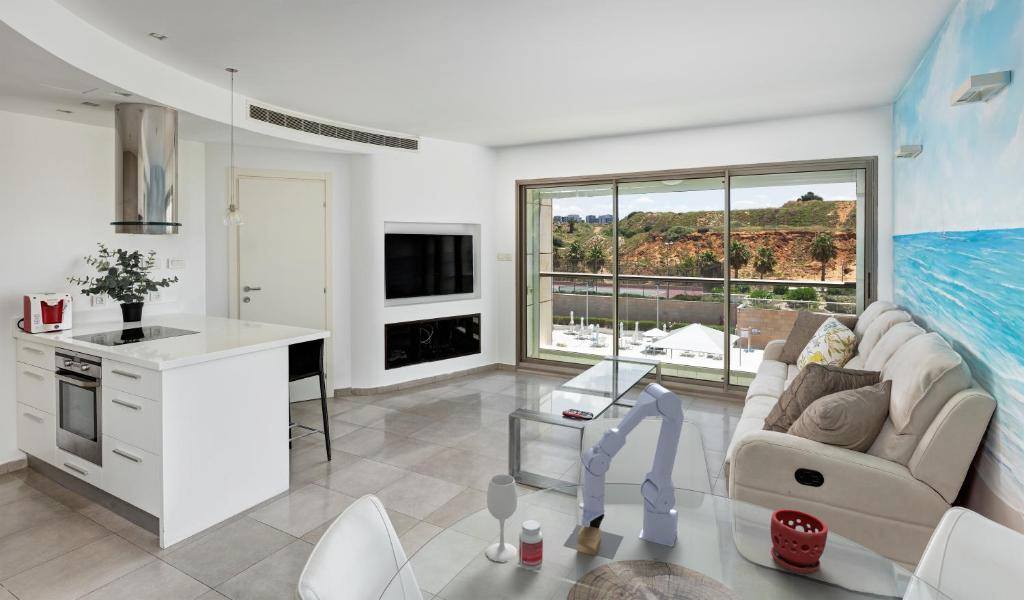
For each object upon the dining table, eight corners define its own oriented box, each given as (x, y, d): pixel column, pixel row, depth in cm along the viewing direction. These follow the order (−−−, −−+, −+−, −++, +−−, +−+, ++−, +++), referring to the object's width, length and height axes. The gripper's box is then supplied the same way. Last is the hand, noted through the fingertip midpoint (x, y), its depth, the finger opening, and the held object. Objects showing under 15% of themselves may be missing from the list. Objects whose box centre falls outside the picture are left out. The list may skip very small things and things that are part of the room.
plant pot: (822, 584, 135) (827, 539, 133) (765, 566, 142) (768, 523, 140) (825, 558, 146) (828, 516, 144) (771, 542, 153) (774, 502, 151)
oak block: (600, 545, 149) (600, 529, 149) (595, 555, 145) (595, 538, 144) (583, 541, 152) (583, 524, 151) (577, 551, 147) (577, 534, 146)
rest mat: (623, 537, 154) (623, 536, 154) (612, 560, 144) (612, 559, 144) (577, 525, 160) (577, 524, 160) (563, 547, 150) (563, 545, 150)
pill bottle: (547, 566, 141) (547, 526, 140) (527, 574, 138) (528, 533, 136) (533, 554, 146) (533, 516, 145) (514, 561, 143) (514, 522, 141)
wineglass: (522, 548, 149) (523, 476, 146) (509, 566, 141) (510, 490, 138) (494, 540, 152) (495, 470, 150) (480, 557, 145) (480, 483, 142)
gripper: (588, 478, 157) (587, 522, 159) (571, 500, 144) (570, 548, 146) (612, 483, 154) (610, 528, 156) (597, 506, 141) (595, 555, 143)
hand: (592, 538), depth 151 cm, fingers closed, pressing on oak block
